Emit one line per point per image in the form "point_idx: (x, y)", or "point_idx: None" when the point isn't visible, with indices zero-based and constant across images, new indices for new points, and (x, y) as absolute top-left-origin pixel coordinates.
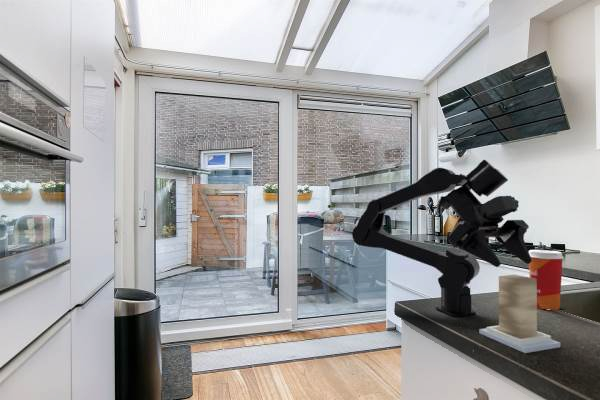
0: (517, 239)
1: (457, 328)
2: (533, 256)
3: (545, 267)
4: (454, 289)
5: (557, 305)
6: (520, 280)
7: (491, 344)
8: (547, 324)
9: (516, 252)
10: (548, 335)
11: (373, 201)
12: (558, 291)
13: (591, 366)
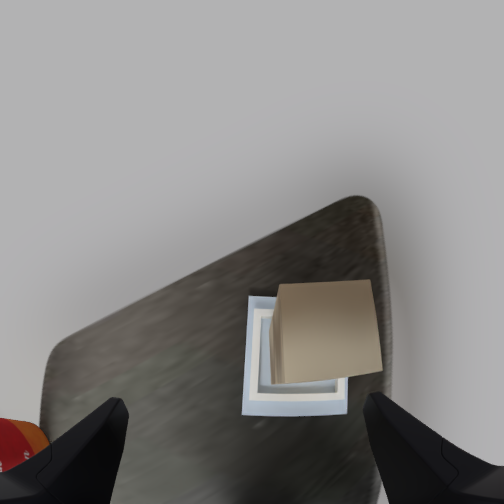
0: (47, 499)
1: (364, 449)
2: None
3: None
4: None
5: (25, 422)
6: (365, 283)
7: None
8: (131, 394)
9: (103, 484)
10: (256, 312)
11: None
12: (2, 418)
13: (282, 231)
